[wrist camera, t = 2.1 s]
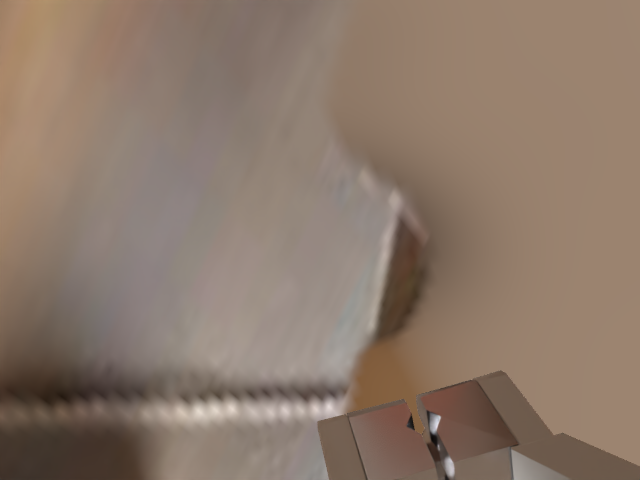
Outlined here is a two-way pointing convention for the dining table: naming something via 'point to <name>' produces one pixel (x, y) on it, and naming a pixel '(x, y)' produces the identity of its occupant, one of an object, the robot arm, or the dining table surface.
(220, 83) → the dining table surface
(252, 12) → the dining table surface
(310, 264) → the dining table surface
